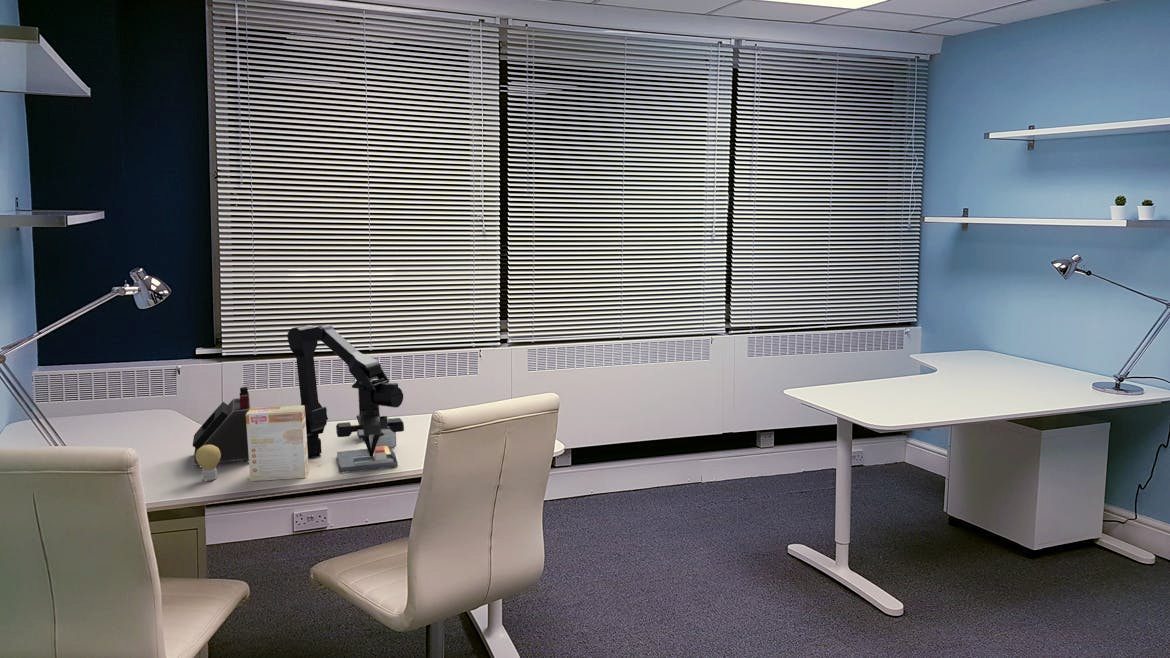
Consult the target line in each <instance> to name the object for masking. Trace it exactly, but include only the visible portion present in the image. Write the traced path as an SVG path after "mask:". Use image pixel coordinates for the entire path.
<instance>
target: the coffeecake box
mask: <svg viewBox="0 0 1170 658" xmlns="http://www.w3.org/2000/svg"><path fill="white" fill-rule="evenodd" d="M246 426H247V440H248V454H249V462H248V464H249V465H248V466H249V477H250V482H258V481H259V482H260V481H275V480H276V481H277V480H280V481H281V480H293V479H294V480H295V479H296V480H297V479H306V478H307V475H308V474H309V472H310V471H309V458H308V451H307V435H306V418H305V405H303V406H301V405H287V406H269V407H267V406H264V407H250V410H249V411H248V412H247V413H246Z"/></svg>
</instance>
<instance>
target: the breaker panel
mask: <svg viewBox="0 0 1170 658" xmlns="http://www.w3.org/2000/svg"><path fill="white" fill-rule="evenodd" d="M388 448H389V451H390V453H391V454H386V460H376V461H375V459H374V455H373V456H370V455H369V452H368V449H367V448H361V449H353V450H341V451H336V457H337V459H336V460H337V461H338V465H339V471H340V473H349V472H360V470H361V471H369V470H370V471H371V470H380V469H387V468H388V467H389V468H397V467H396V466H399V461H398V459H397V456H396V454H395V452H394V451H393V449H392V447H388ZM379 468H380V469H379Z"/></svg>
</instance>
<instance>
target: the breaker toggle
mask: <svg viewBox="0 0 1170 658" xmlns="http://www.w3.org/2000/svg"><path fill="white" fill-rule="evenodd" d="M374 459H375V461H376V460H386V451H385V449H384V447H375V451H374Z"/></svg>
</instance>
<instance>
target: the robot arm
mask: <svg viewBox="0 0 1170 658" xmlns="http://www.w3.org/2000/svg"><path fill="white" fill-rule="evenodd" d="M318 340H319V341H321V342H322V343H323V344H324V345H325V346H326V347H327V348H328V349H329V350H330V351H332V352H333V353H334V354H335V355H336V356H338V358H340V359H341V360H342V361H343V362H344V363H345V364H346V365H347V367H348V371H349V373H350V374H351V375H352V376H353V378H354V379H355V380H356V381H355V382H354V383H353V384H352V385H351V388H352V389H357V390H358V391H357V392H358V395H357V396H358V412H359V413H358V414H359V418H360V425H359V424H356V425H355V424H353V425H352V424H351V422H349V421H348V422H338V423H337V424H336V426H335V430H336V436H337V438H345V437H346V438H347V437H350V436H351V435H352V433H356V435H357V437H358V438H359V439H362V441H363V442H364V444H365V446H366V449H368V452H369V454H370V456H373V454H374V451H375V447H376V444H377V442H378V439H379V438H380V436H384V433H383V431H384V429H390V430H391V431H392V432H396V433H400V432H401V433H402V432H404V431H405V426H404V421H403V420H402V419H401V418H400V417H395V418H391V419H388V420H387V418H388V416H387V415H382V416H381V413H380V406H381V407H389V408H399V407H400V406H401V405H402V404H403V401H404V393H403V390H402V389H401V388H400V387H399V383H397V382H390V379H389V378H388V375H386V373H385V371H384V370H383V368H382V365H381V363H380V362H379V361H378V360H376V359H375V358H373V356H371V355H368V354H364V353H363V352H362V353H361V352H360V351H359V350H357V349H356V348H355V347H354V346H353V345H352V344H351V343H350V342H348V340H347V339H345V338H344V337H343V336H342V335H341V334H340V333H338V332H337V331H336V330H335V327H333V325H331V324H329V323H328V324H327V323H326V324H323V325H318V326H313V325H312V324H306V325H301V326H300V325H299V326H295V327H292V328H290V329H289V330H288V332H287V341H288V345H289V349H290V351H291V352H292V353H293V355H294V356H295V358H296V368H297V369H296V370H297V375H298V376H297V377H298V387H299V394H300V396H299V397H300V406H303V405H305V418H306V435H307V451H308V459H314V458H320V457H321V454H322V439H321V438H320V437H319V436H320V435H321V434H323V433H324V430H325V427H326V426H327V423H328V421H329V418H328V415H327V414H328V411H327V407H326V406H323V405H321V403H320V401H319V395H318V387H317V386H318V385H317V376H316V367H315V358H314V354H315V352H316V349H317V347H318V342H319V341H318ZM319 434H320V435H319ZM369 435H372V437H371V446H370V441H369Z"/></svg>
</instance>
